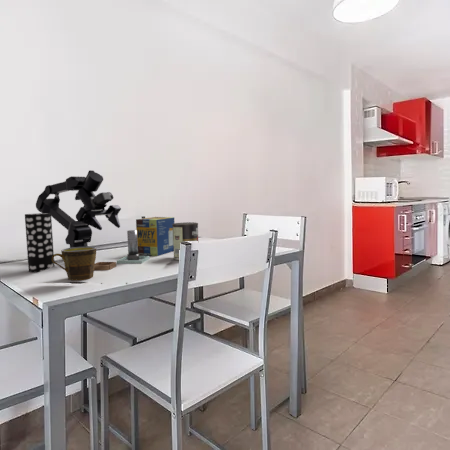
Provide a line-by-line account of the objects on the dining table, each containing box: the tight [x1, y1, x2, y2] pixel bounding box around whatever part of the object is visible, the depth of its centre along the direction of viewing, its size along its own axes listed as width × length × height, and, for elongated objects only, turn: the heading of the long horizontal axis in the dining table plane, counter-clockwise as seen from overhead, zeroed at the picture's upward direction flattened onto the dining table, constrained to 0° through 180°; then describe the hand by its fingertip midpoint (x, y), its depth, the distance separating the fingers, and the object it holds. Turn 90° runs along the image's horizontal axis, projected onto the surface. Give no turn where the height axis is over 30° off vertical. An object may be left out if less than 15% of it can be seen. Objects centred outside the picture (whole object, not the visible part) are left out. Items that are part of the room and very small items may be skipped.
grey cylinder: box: [126, 229, 140, 260], centre depth 141 cm, size 4×4×12 cm
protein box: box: [135, 216, 175, 257], centre depth 166 cm, size 10×15×16 cm
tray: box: [116, 255, 150, 264], centre depth 142 cm, size 10×10×2 cm
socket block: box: [94, 261, 117, 271], centre depth 129 cm, size 7×7×2 cm
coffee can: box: [172, 221, 199, 261], centre depth 150 cm, size 10×10×14 cm
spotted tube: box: [24, 212, 55, 273], centre depth 133 cm, size 8×8×20 cm
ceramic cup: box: [52, 246, 97, 285], centre depth 113 cm, size 13×10×10 cm
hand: (110, 228), depth 146 cm, fingers open, 9 cm apart
